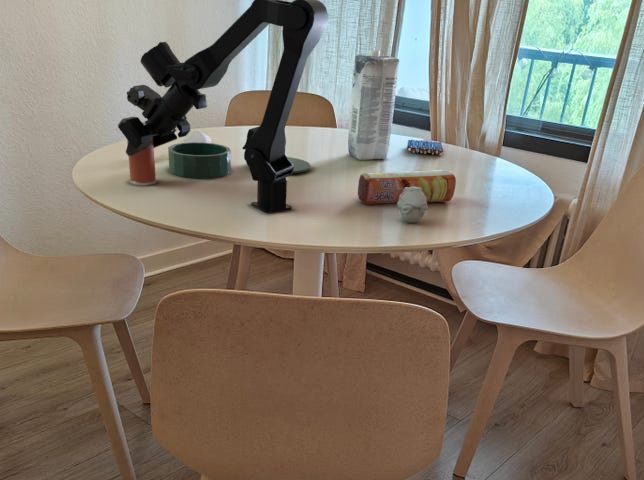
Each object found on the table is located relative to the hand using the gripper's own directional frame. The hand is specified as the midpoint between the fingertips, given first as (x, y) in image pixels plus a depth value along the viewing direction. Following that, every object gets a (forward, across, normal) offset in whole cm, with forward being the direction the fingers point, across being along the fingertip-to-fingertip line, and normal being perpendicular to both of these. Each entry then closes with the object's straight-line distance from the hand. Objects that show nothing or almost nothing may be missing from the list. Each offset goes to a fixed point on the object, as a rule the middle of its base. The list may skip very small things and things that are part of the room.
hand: (136, 151), depth 144 cm
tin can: (+4, 0, +6) cm, 7 cm away
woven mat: (-28, -76, +36) cm, 89 cm away
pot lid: (-10, -31, +18) cm, 38 cm away
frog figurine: (-39, -8, +49) cm, 63 cm away
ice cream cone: (+8, -29, +2) cm, 30 cm away
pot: (0, -16, +9) cm, 19 cm away
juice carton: (-19, -58, +29) cm, 68 cm away
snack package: (-35, -21, +45) cm, 61 cm away
